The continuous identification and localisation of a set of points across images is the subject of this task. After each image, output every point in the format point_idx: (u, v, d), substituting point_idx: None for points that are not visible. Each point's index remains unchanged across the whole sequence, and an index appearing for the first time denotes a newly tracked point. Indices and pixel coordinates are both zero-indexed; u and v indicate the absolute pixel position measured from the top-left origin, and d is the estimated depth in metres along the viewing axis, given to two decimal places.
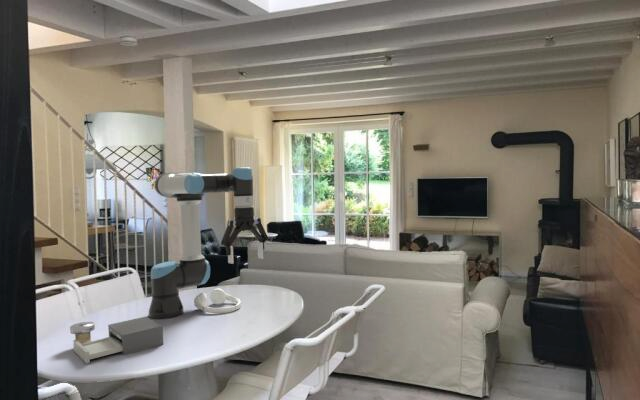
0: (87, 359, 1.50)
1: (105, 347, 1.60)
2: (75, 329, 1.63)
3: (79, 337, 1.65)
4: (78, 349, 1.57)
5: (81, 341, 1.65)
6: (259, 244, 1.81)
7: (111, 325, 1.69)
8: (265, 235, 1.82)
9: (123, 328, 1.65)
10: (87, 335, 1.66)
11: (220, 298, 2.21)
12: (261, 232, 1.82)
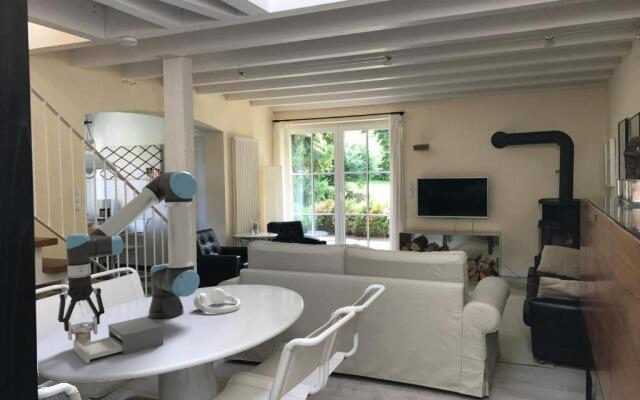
0: (87, 359, 1.50)
1: (105, 347, 1.60)
2: (75, 329, 1.63)
3: (79, 337, 1.65)
4: (78, 349, 1.57)
5: (81, 341, 1.65)
6: (93, 319, 1.70)
7: (111, 325, 1.69)
8: (101, 308, 1.71)
9: (123, 328, 1.65)
10: (87, 335, 1.66)
11: (220, 298, 2.21)
12: (98, 304, 1.71)
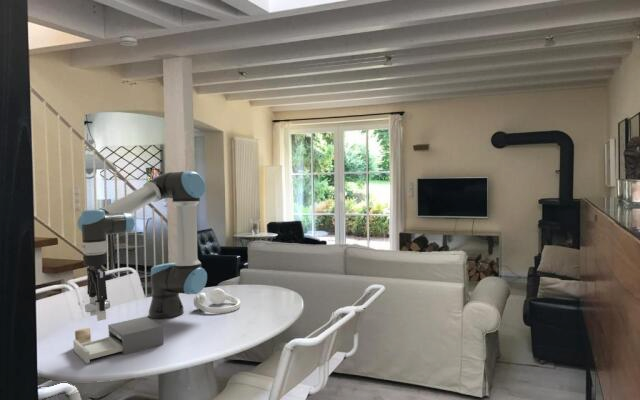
0: (87, 359, 1.50)
1: (105, 347, 1.60)
2: None
3: (79, 337, 1.65)
4: (78, 349, 1.57)
5: (81, 341, 1.65)
6: None
7: (111, 325, 1.69)
8: (98, 295, 1.54)
9: (123, 328, 1.65)
10: (87, 335, 1.66)
11: (220, 298, 2.21)
12: None
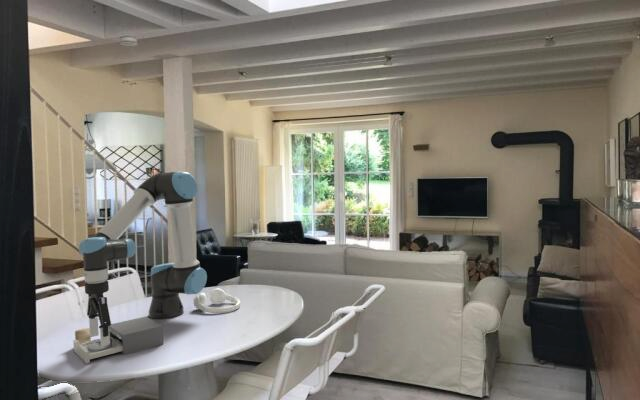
0: (87, 359, 1.50)
1: None
2: None
3: (79, 337, 1.65)
4: (78, 349, 1.57)
5: (81, 341, 1.65)
6: None
7: (111, 325, 1.69)
8: (102, 320, 1.52)
9: (123, 328, 1.65)
10: (87, 335, 1.66)
11: (219, 298, 2.21)
12: None
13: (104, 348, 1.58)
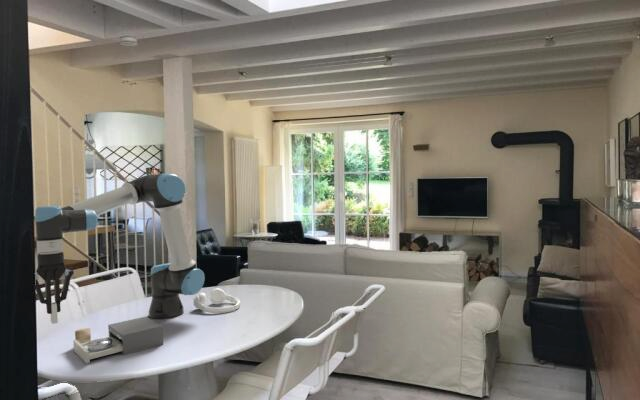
0: (87, 359, 1.50)
1: None
2: None
3: (79, 337, 1.65)
4: (78, 349, 1.57)
5: (81, 341, 1.65)
6: None
7: (111, 325, 1.69)
8: (65, 293, 1.52)
9: (123, 328, 1.65)
10: (87, 335, 1.66)
11: (219, 298, 2.21)
12: (63, 288, 1.52)
13: (104, 348, 1.57)
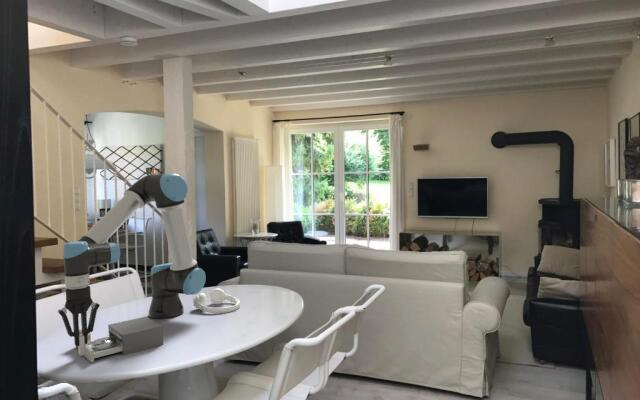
0: (91, 358, 1.51)
1: None
2: None
3: None
4: None
5: None
6: None
7: (111, 325, 1.69)
8: (91, 326, 1.57)
9: (123, 328, 1.65)
10: (87, 335, 1.66)
11: (219, 298, 2.22)
12: (90, 320, 1.58)
13: (108, 347, 1.58)
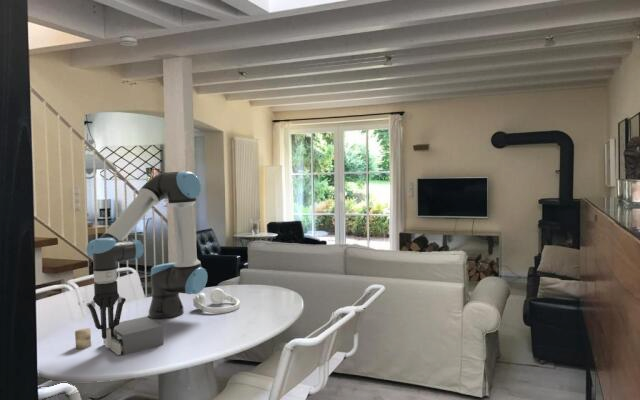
0: (119, 351, 1.56)
1: None
2: None
3: (79, 337, 1.65)
4: None
5: (81, 341, 1.65)
6: None
7: None
8: (117, 319, 1.63)
9: (123, 328, 1.65)
10: (87, 335, 1.66)
11: (219, 298, 2.22)
12: (116, 314, 1.64)
13: None
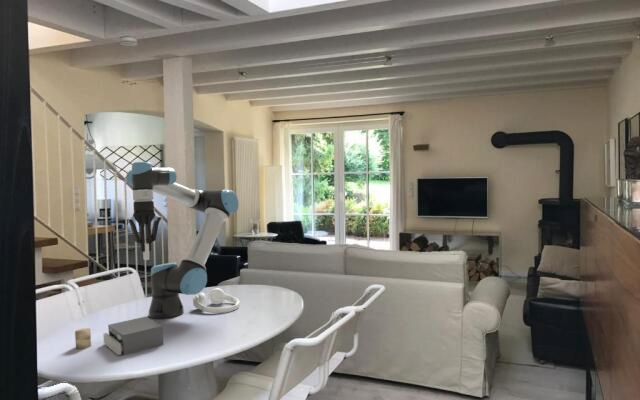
0: (119, 351, 1.56)
1: None
2: None
3: (79, 337, 1.65)
4: (109, 341, 1.64)
5: (81, 341, 1.65)
6: None
7: (111, 325, 1.69)
8: (154, 235, 1.82)
9: (123, 328, 1.65)
10: (87, 335, 1.66)
11: (219, 298, 2.22)
12: (153, 231, 1.82)
13: None
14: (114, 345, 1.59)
